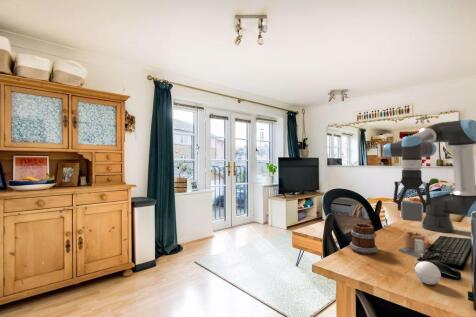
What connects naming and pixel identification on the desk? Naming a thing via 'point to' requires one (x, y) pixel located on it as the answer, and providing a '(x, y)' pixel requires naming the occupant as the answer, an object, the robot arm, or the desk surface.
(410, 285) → the desk surface
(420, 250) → the shaft base
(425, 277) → the white egg
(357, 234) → the brown banded cylinder
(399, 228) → the desk surface
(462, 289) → the desk surface
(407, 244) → the bracket
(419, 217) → the squarish grey box
